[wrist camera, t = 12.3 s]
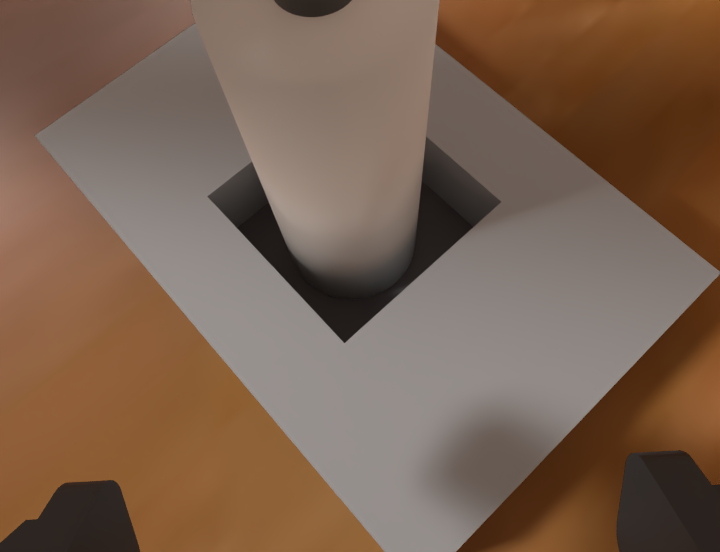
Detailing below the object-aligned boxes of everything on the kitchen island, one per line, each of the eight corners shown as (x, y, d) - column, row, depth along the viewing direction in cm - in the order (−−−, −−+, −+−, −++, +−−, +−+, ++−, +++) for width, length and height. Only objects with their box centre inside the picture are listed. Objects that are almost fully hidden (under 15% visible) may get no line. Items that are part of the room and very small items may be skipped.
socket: (79, 180, 22) (34, 135, 19) (317, 5, 25) (309, -58, 22) (413, 574, 17) (418, 590, 14) (672, 304, 19) (721, 272, 17)
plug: (289, 302, 20) (130, -6, 8) (290, 188, 21) (159, -219, 9) (419, 295, 20) (468, -28, 8) (411, 181, 21) (438, -242, 9)
